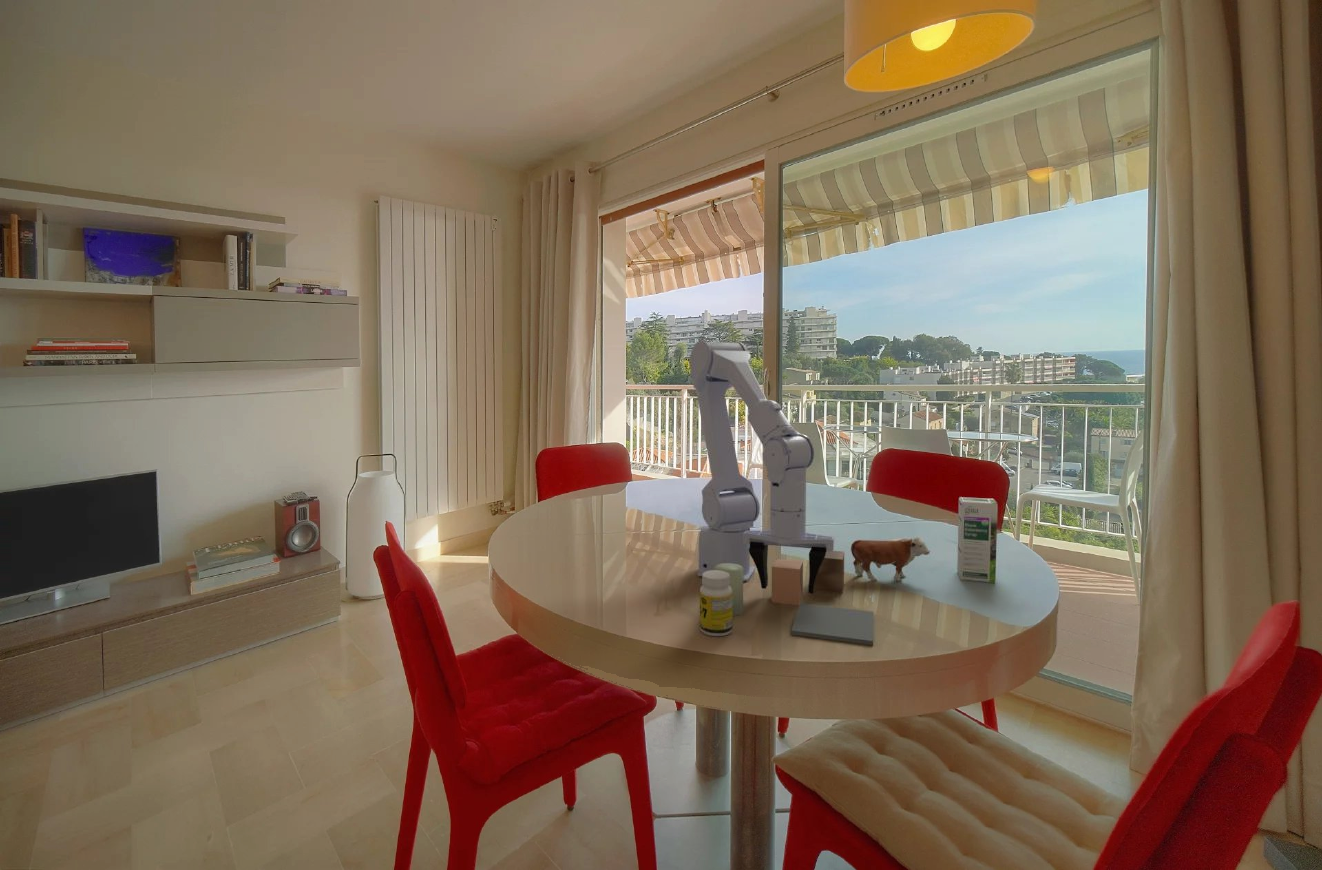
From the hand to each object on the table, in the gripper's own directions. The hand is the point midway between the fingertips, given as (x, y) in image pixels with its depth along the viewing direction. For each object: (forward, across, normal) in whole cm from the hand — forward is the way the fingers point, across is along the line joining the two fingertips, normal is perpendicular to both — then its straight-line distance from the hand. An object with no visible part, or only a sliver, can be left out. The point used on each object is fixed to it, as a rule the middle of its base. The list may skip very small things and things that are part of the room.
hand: (787, 589), depth 97 cm
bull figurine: (+2, +16, +16) cm, 23 cm away
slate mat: (+2, +8, -8) cm, 12 cm away
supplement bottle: (+2, -8, -16) cm, 18 cm away
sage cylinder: (+2, -8, -8) cm, 11 cm away
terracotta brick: (+2, 0, 0) cm, 2 cm away
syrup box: (+2, +31, +22) cm, 38 cm away
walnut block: (+2, +6, +8) cm, 10 cm away
